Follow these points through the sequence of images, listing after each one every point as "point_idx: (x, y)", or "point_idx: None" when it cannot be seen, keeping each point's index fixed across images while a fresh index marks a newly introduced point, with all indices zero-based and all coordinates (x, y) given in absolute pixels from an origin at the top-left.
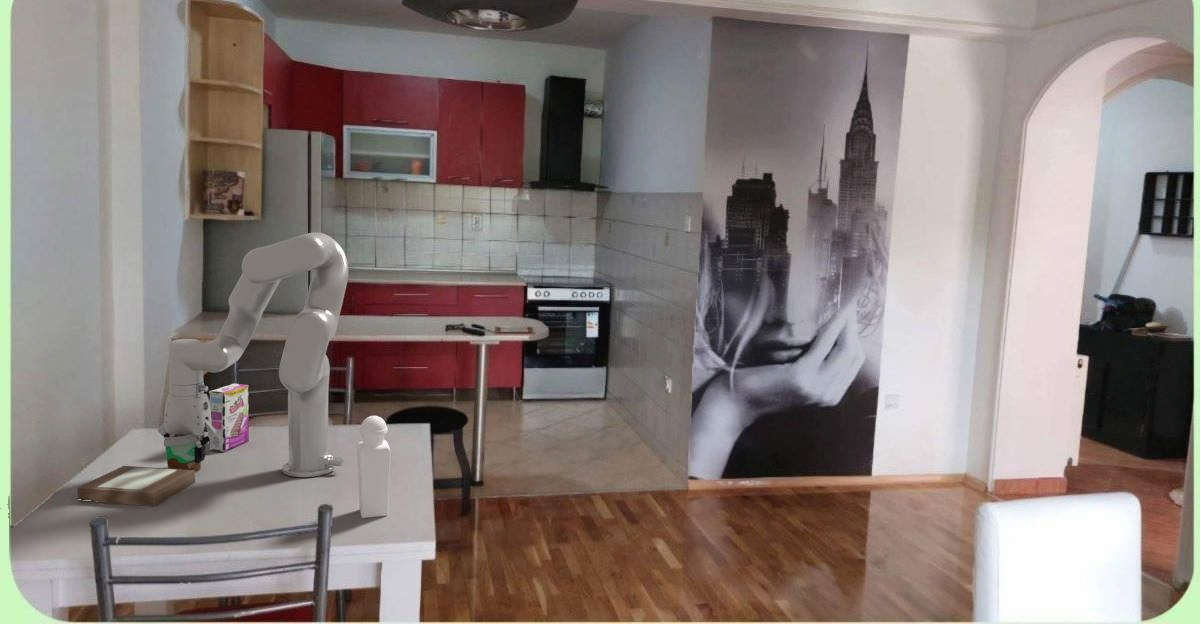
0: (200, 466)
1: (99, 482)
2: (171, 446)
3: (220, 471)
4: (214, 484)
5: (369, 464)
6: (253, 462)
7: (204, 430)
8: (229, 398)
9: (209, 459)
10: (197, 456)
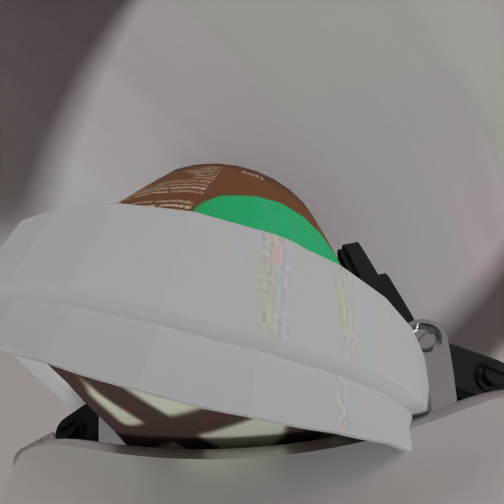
0: (316, 222)
1: None
2: None
3: (431, 210)
4: (455, 333)
5: None
6: (489, 40)
7: (456, 417)
8: None
9: (223, 34)
10: None
